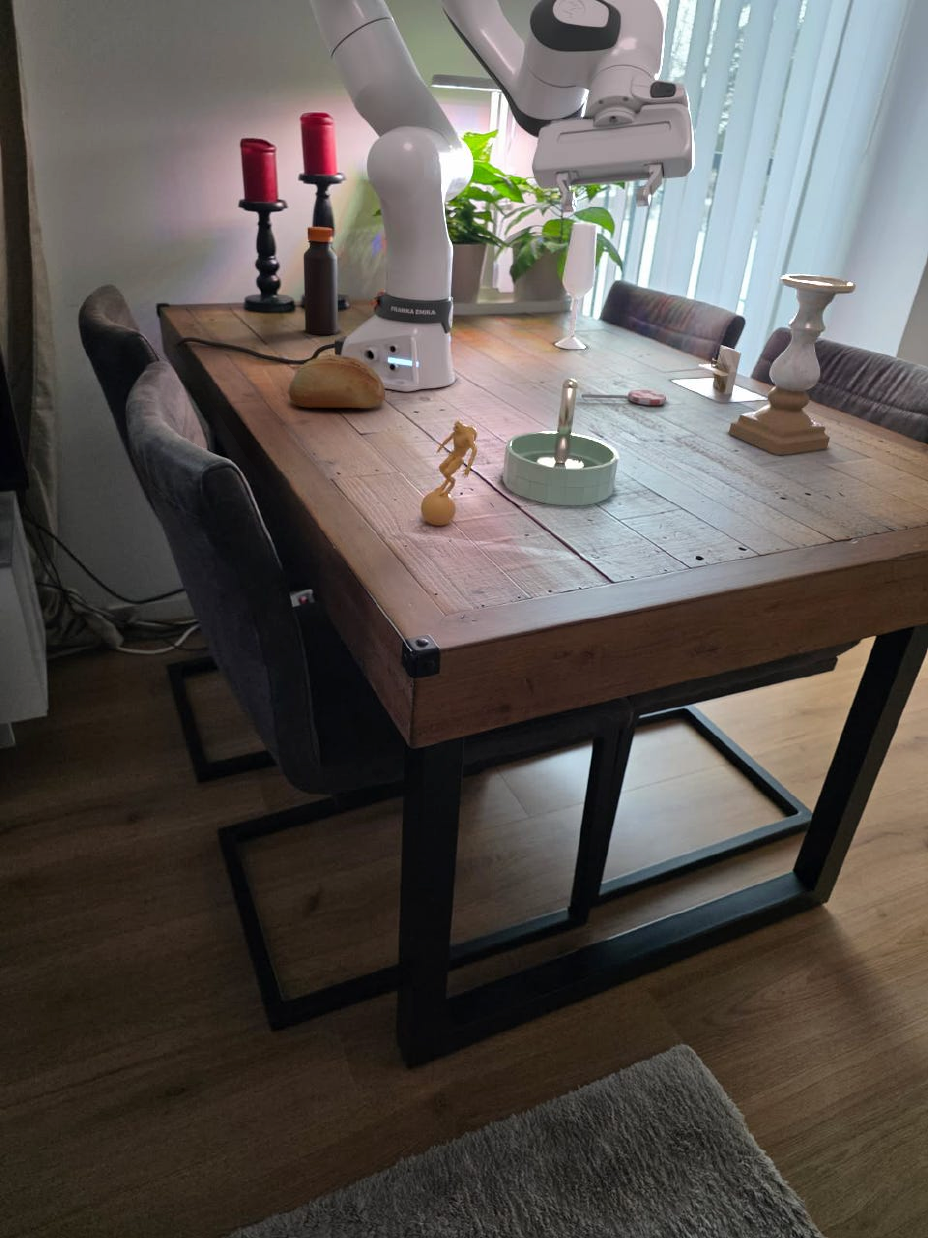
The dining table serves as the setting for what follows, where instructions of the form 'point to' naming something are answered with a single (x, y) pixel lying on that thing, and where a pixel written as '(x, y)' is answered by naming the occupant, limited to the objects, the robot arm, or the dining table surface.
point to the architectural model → (721, 380)
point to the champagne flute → (579, 273)
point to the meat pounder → (564, 430)
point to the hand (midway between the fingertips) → (604, 205)
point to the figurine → (449, 476)
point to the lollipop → (636, 397)
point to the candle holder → (794, 375)
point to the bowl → (559, 470)
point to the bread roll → (336, 384)
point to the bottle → (320, 283)
